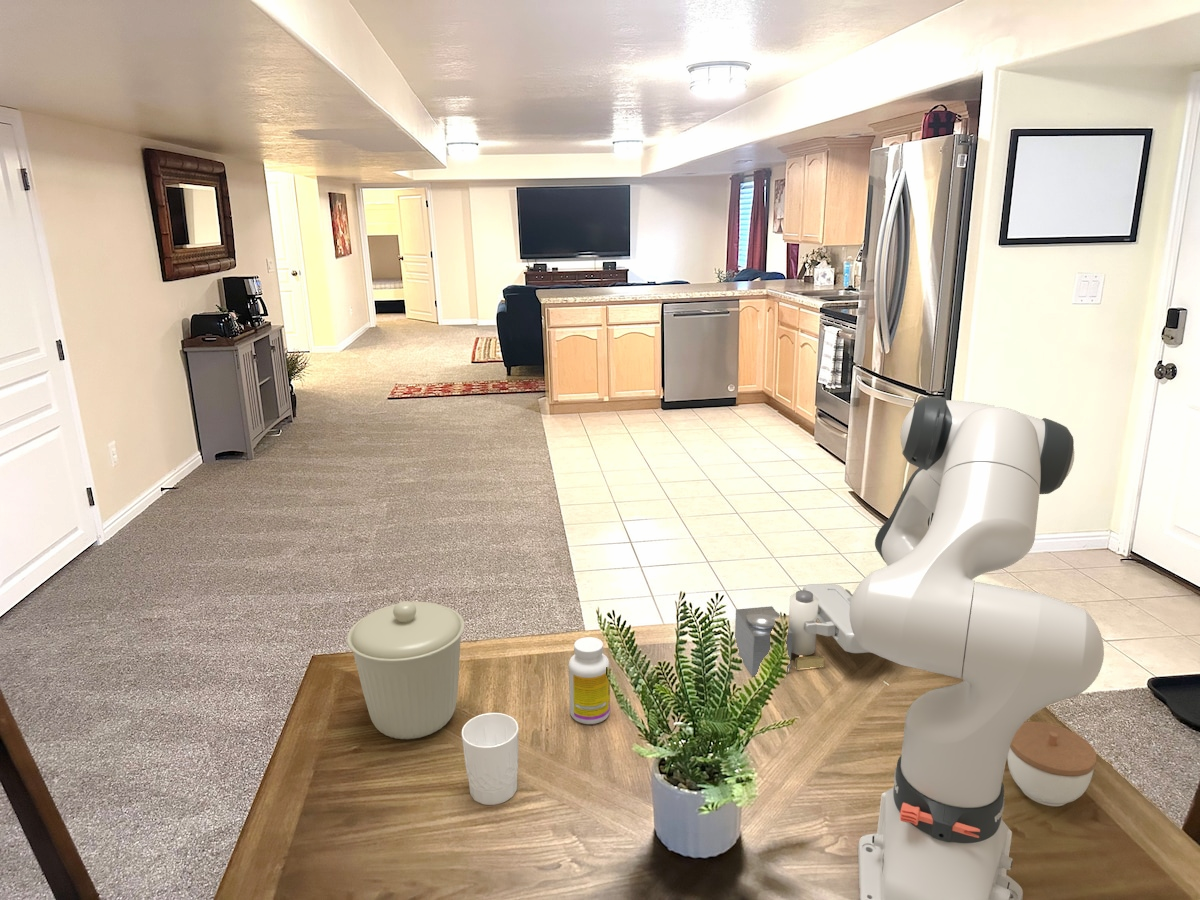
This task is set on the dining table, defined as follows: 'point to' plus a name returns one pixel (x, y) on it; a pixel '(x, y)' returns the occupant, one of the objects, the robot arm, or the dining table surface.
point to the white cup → (491, 757)
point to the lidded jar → (1050, 763)
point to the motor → (763, 639)
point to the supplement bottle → (589, 682)
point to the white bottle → (802, 621)
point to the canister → (408, 666)
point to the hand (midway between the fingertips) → (798, 619)
